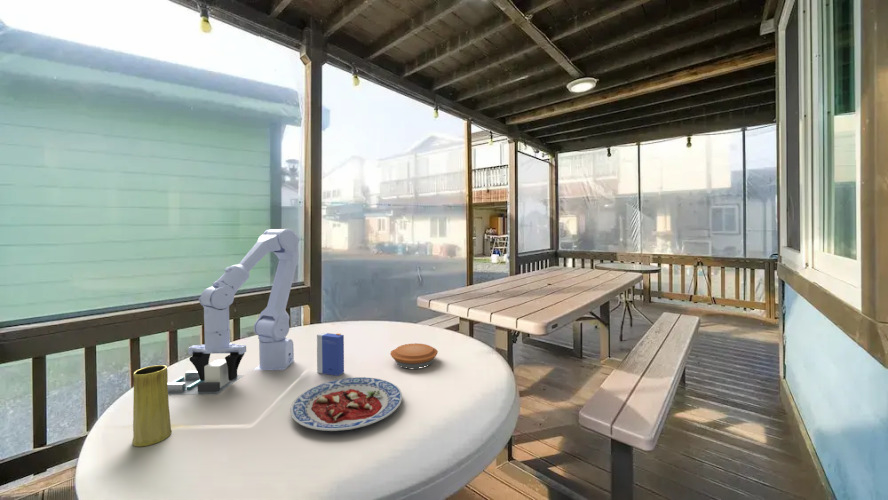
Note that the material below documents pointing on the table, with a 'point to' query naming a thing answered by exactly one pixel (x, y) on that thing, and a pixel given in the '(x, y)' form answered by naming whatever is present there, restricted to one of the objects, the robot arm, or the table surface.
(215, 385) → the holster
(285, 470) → the table surface
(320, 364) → the walkman
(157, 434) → the vase
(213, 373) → the plug
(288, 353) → the robot arm
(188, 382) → the panel
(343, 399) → the ceramic plate
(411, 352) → the pie
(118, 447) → the table surface
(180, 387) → the port
